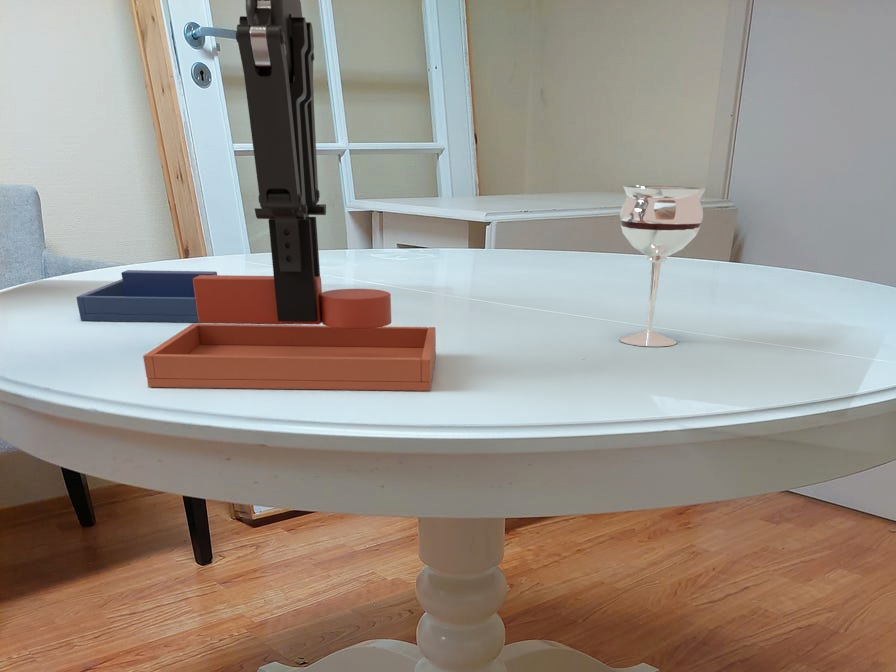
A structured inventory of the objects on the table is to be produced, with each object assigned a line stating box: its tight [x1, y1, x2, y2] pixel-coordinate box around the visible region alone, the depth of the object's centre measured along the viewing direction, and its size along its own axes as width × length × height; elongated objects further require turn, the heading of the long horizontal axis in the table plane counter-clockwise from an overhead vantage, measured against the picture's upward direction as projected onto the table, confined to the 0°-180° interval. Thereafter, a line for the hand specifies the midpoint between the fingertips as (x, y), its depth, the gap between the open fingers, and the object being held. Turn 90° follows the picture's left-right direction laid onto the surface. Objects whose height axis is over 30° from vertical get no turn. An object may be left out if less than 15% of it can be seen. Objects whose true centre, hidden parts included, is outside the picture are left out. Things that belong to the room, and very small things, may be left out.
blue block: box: [120, 269, 218, 298], centre depth 86 cm, size 14×5×3 cm, turn 91°
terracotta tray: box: [142, 323, 437, 392], centre depth 65 cm, size 19×12×2 cm, turn 91°
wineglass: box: [618, 185, 707, 348], centre depth 75 cm, size 7×7×12 cm
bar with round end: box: [193, 274, 392, 329], centre depth 63 cm, size 14×5×3 cm, turn 90°
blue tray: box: [75, 278, 199, 323], centre depth 87 cm, size 19×12×2 cm, turn 91°
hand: (300, 317), depth 64 cm, fingers closed on bar with round end, 2 cm apart
